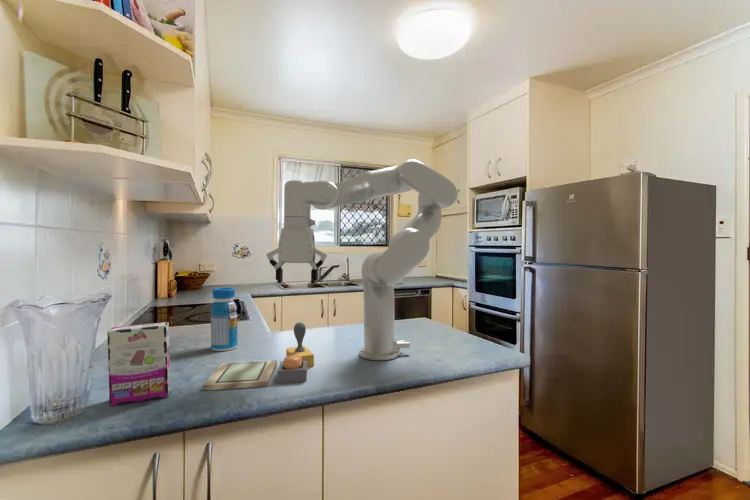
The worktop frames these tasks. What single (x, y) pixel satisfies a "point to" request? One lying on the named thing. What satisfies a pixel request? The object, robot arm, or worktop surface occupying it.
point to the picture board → (241, 375)
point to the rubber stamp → (301, 350)
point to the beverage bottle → (223, 320)
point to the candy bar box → (138, 363)
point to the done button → (293, 362)
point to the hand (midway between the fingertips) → (296, 282)
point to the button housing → (292, 374)
